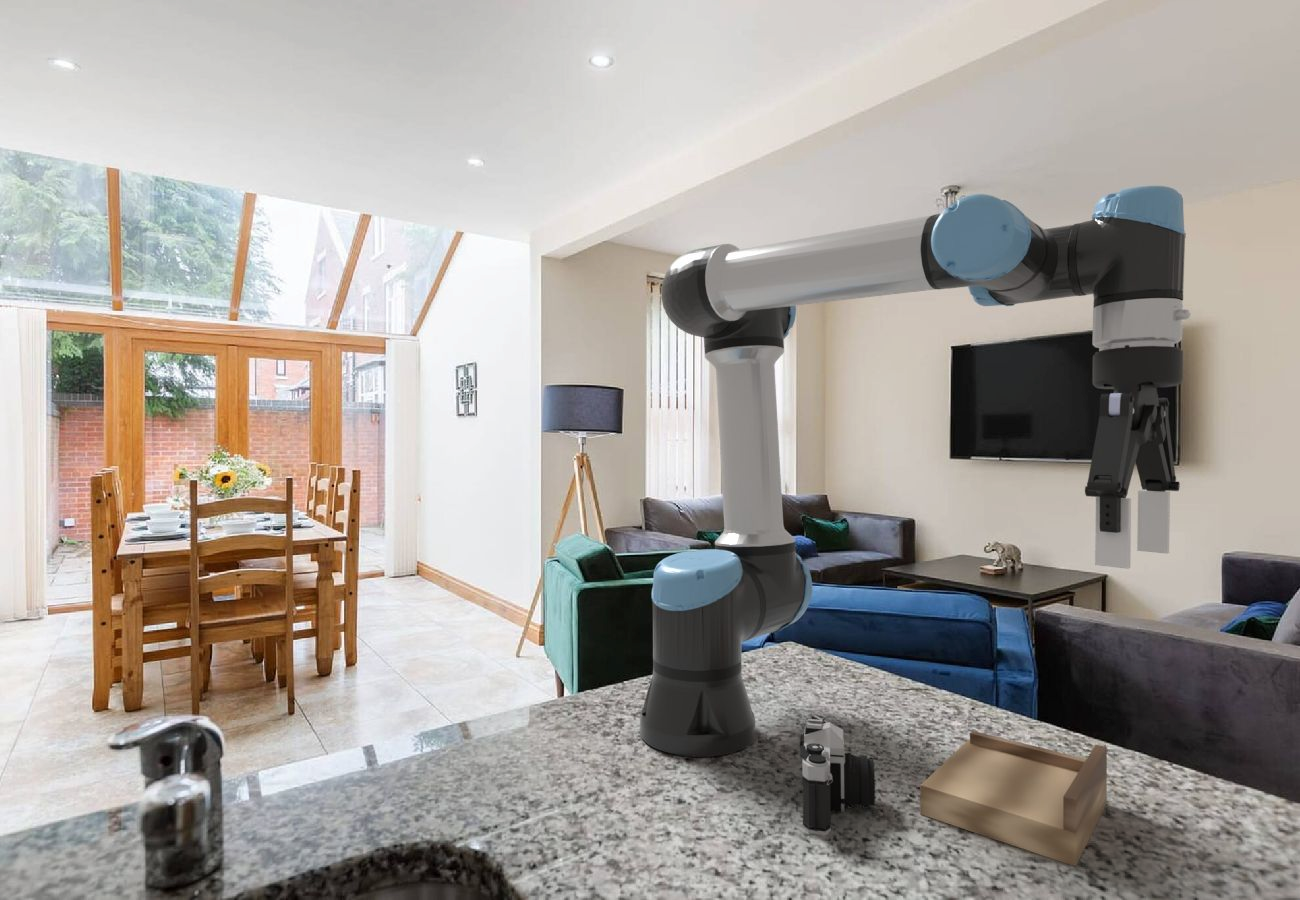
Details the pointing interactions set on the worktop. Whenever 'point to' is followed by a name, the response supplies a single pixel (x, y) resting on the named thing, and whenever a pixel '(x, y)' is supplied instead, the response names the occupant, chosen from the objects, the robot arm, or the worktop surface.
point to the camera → (831, 775)
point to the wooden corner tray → (1020, 795)
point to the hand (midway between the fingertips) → (1134, 559)
